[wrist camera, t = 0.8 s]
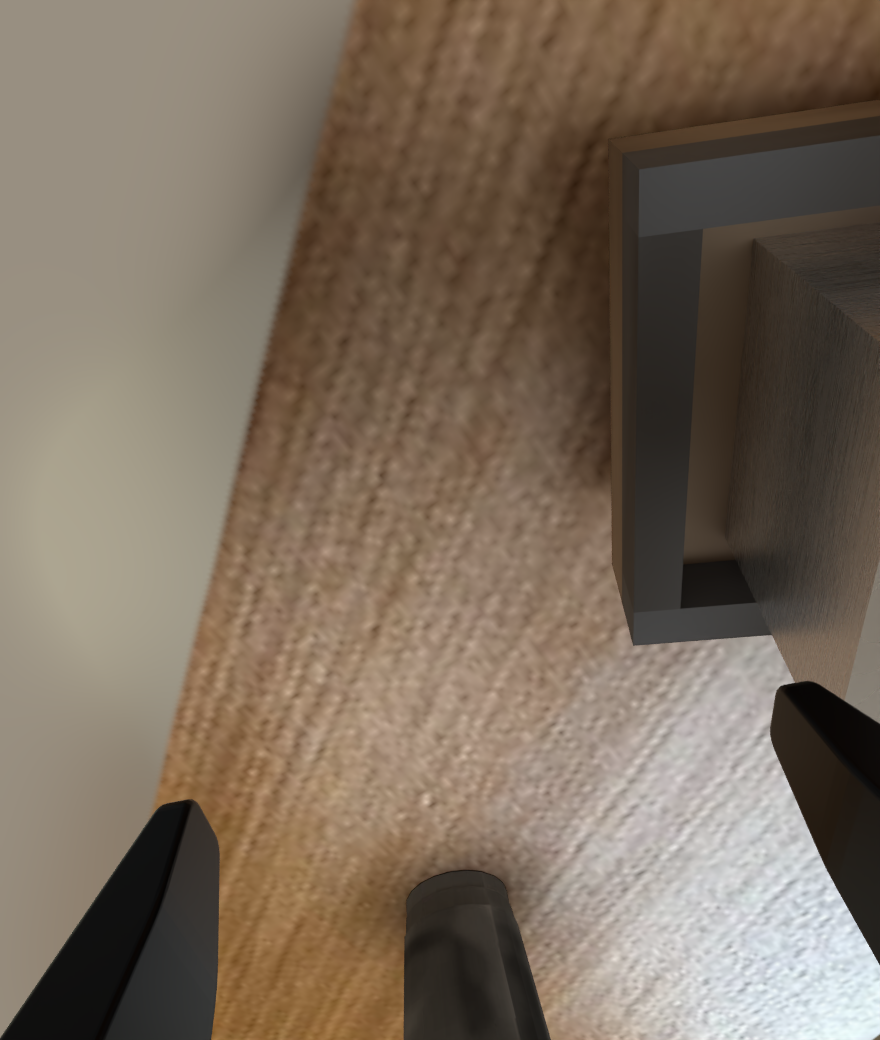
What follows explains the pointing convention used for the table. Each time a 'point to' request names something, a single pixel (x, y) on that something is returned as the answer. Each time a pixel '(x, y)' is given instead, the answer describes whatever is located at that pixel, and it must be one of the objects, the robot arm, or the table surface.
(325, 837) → the table surface
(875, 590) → the steel rider
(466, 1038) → the beverage cup
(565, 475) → the table surface
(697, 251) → the grey tray
